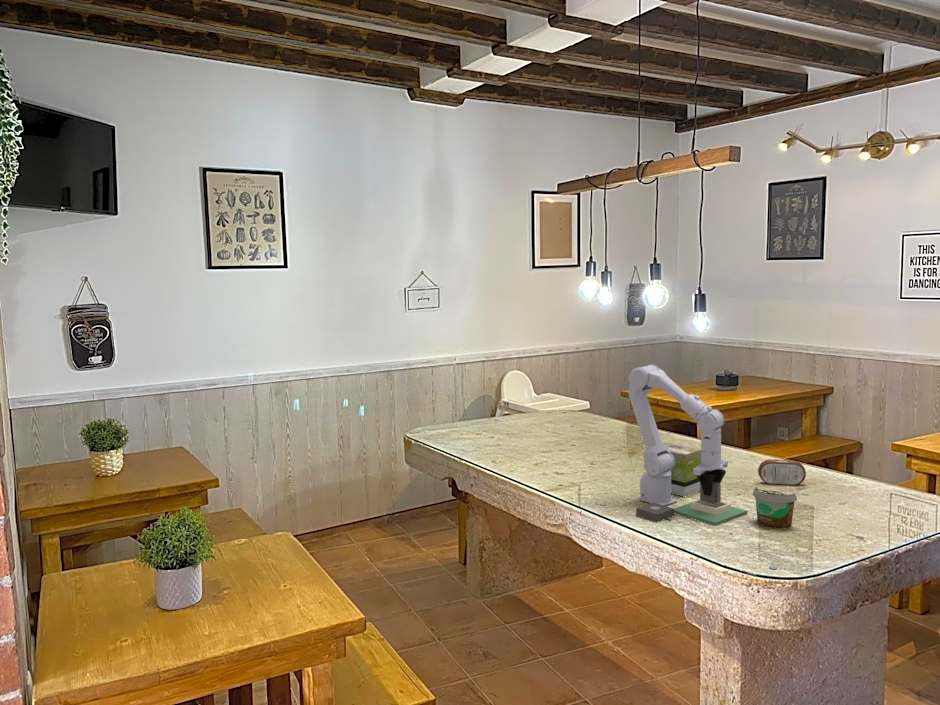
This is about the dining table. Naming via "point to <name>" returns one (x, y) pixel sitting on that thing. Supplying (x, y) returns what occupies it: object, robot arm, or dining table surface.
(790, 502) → the food container
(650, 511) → the grey flat block
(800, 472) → the tin
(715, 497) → the plug
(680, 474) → the tea box
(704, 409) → the robot arm
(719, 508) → the board
